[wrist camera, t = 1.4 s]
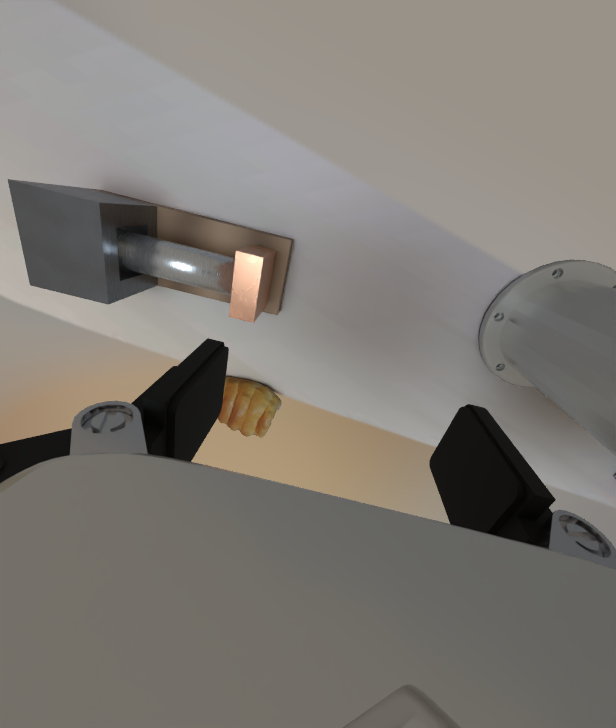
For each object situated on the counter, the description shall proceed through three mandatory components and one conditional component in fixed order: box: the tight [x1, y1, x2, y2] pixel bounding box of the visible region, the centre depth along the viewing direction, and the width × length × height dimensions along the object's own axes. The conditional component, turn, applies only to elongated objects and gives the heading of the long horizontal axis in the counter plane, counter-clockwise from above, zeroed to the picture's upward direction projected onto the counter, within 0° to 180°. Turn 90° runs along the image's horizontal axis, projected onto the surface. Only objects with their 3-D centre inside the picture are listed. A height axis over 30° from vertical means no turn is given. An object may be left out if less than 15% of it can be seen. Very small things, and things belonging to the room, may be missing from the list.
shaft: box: [116, 228, 276, 323], centre depth 24 cm, size 13×5×5 cm, turn 77°
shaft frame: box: [8, 179, 293, 315], centre depth 25 cm, size 18×7×8 cm, turn 77°
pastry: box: [218, 376, 281, 438], centre depth 34 cm, size 9×7×4 cm
